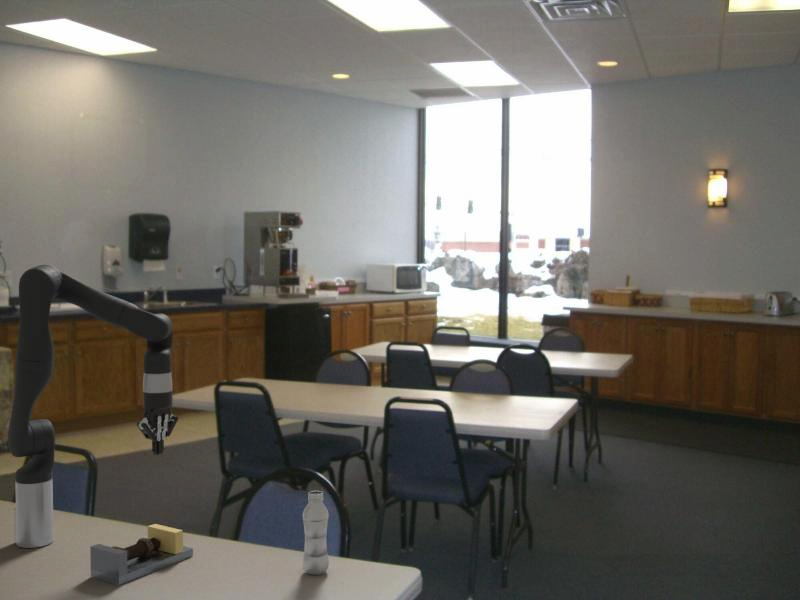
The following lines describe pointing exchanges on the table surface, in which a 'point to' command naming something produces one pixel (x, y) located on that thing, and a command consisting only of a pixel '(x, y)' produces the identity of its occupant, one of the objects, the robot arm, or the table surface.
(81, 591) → the table surface
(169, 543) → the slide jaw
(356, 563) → the table surface
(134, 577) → the plate
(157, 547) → the bolt
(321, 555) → the plastic bottle
